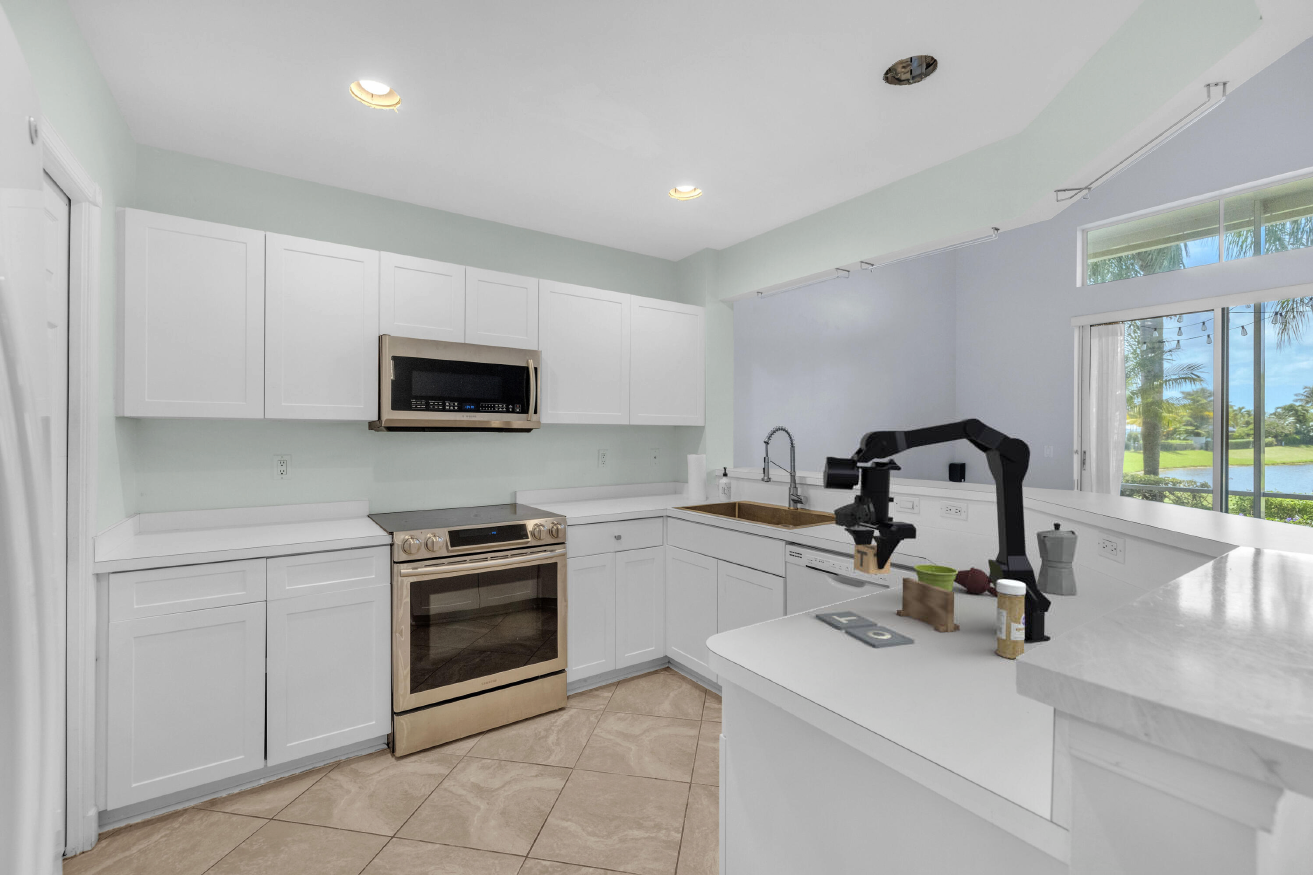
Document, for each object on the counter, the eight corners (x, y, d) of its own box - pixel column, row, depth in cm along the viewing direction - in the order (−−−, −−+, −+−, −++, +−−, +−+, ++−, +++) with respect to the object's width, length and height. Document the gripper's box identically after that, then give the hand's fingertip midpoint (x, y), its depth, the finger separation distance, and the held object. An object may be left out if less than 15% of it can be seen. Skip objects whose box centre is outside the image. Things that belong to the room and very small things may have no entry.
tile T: (877, 626, 121) (877, 623, 121) (840, 630, 118) (840, 626, 118) (849, 613, 129) (849, 610, 129) (815, 617, 127) (815, 614, 127)
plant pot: (965, 611, 133) (965, 573, 133) (924, 610, 133) (924, 572, 133) (945, 600, 142) (946, 564, 142) (907, 599, 142) (907, 564, 142)
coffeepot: (1062, 598, 145) (1062, 527, 145) (1023, 589, 154) (1024, 522, 154) (1094, 591, 153) (1094, 523, 153) (1055, 583, 161) (1056, 519, 161)
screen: (960, 630, 119) (961, 591, 119) (941, 632, 117) (941, 593, 117) (913, 612, 131) (914, 577, 131) (895, 614, 130) (896, 578, 130)
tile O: (914, 643, 111) (914, 639, 111) (875, 647, 108) (875, 644, 108) (882, 628, 119) (882, 625, 119) (845, 632, 117) (845, 628, 117)
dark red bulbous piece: (937, 566, 151) (1002, 581, 141) (946, 555, 156) (1009, 569, 146) (936, 590, 153) (1001, 607, 143) (945, 579, 158) (1008, 594, 148)
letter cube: (890, 573, 119) (890, 548, 119) (869, 574, 117) (870, 549, 117) (873, 567, 123) (874, 544, 123) (853, 568, 122) (854, 544, 122)
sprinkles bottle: (1025, 661, 102) (1026, 585, 102) (995, 656, 104) (996, 582, 105) (1024, 653, 106) (1024, 580, 106) (995, 648, 108) (996, 577, 109)
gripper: (815, 486, 127) (812, 557, 127) (871, 495, 109) (868, 578, 109) (858, 487, 130) (856, 556, 130) (919, 496, 112) (916, 576, 112)
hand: (871, 566), depth 120 cm, fingers closed on letter cube, 5 cm apart
